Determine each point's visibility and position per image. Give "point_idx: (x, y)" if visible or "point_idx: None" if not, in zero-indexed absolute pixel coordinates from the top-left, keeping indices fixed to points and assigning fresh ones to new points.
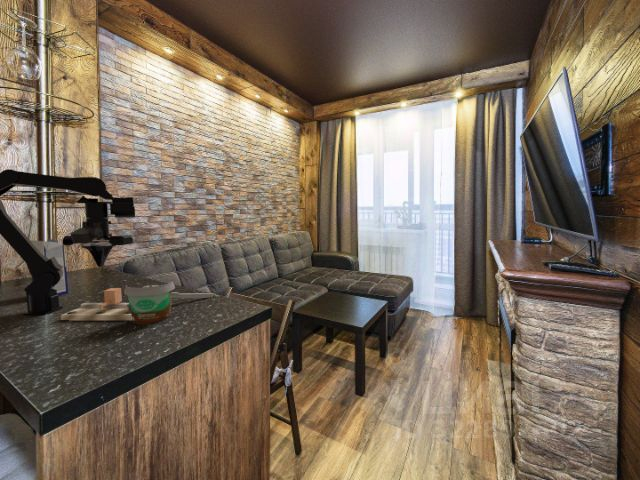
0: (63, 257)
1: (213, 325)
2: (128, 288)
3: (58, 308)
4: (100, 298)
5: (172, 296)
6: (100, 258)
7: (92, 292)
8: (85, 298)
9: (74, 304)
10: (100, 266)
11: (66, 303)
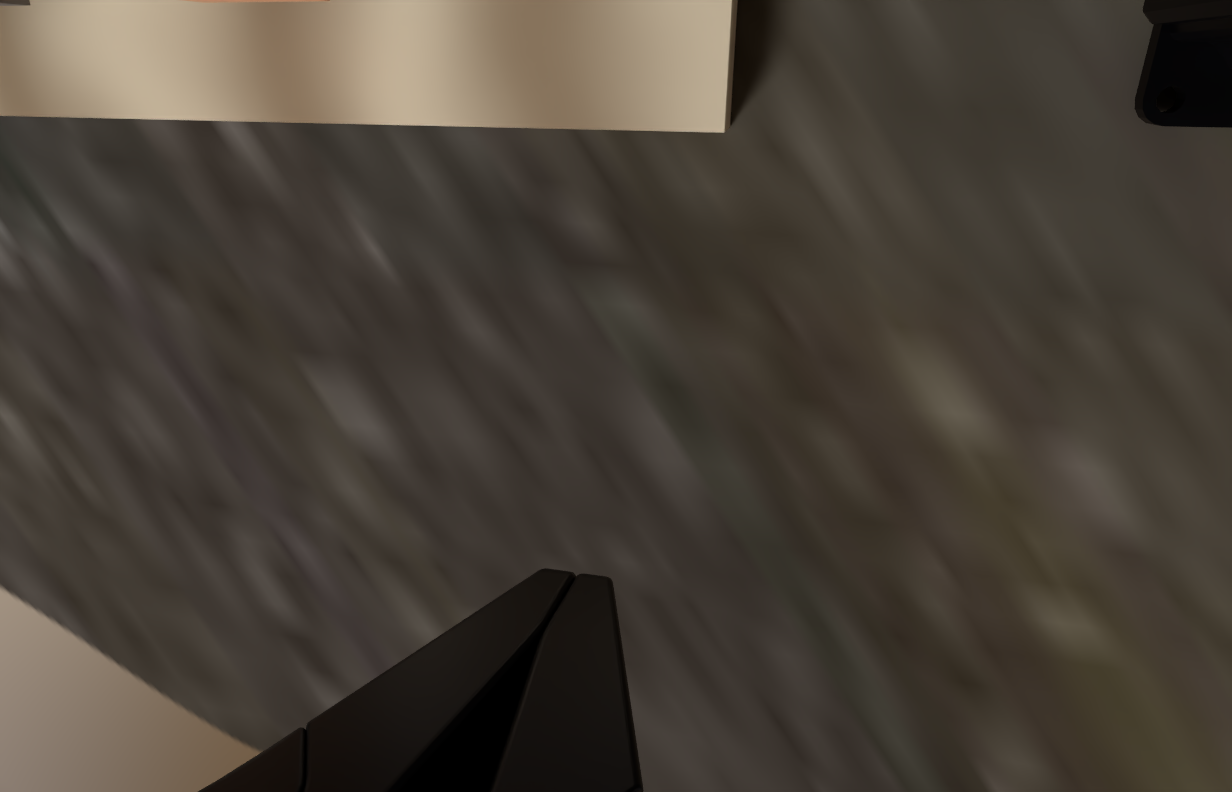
0: None
1: None
2: None
3: (1158, 26)
4: (861, 516)
5: None
6: (372, 698)
7: (1124, 777)
8: (1065, 541)
9: (1061, 289)
10: (541, 571)
11: (1213, 344)
